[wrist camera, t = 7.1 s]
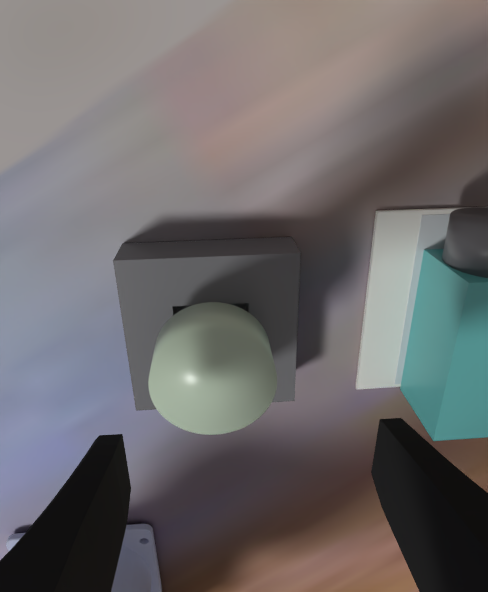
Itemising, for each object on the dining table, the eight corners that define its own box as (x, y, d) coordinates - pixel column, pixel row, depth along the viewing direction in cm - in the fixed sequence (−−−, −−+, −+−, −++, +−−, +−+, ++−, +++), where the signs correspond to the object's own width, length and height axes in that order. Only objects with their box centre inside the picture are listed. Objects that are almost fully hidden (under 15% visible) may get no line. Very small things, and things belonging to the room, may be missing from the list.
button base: (286, 374, 21) (294, 400, 20) (142, 382, 21) (136, 410, 19) (291, 236, 18) (300, 252, 17) (122, 243, 18) (113, 260, 16)
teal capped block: (469, 384, 22) (514, 435, 19) (400, 389, 22) (433, 441, 19) (514, 205, 18) (580, 230, 15) (430, 208, 18) (479, 234, 15)
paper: (507, 377, 23) (510, 380, 22) (355, 386, 22) (356, 389, 22) (559, 204, 19) (563, 205, 18) (375, 210, 18) (377, 212, 18)
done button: (265, 375, 19) (276, 430, 16) (163, 381, 19) (155, 438, 16) (265, 284, 17) (278, 326, 14) (152, 289, 17) (141, 333, 14)
